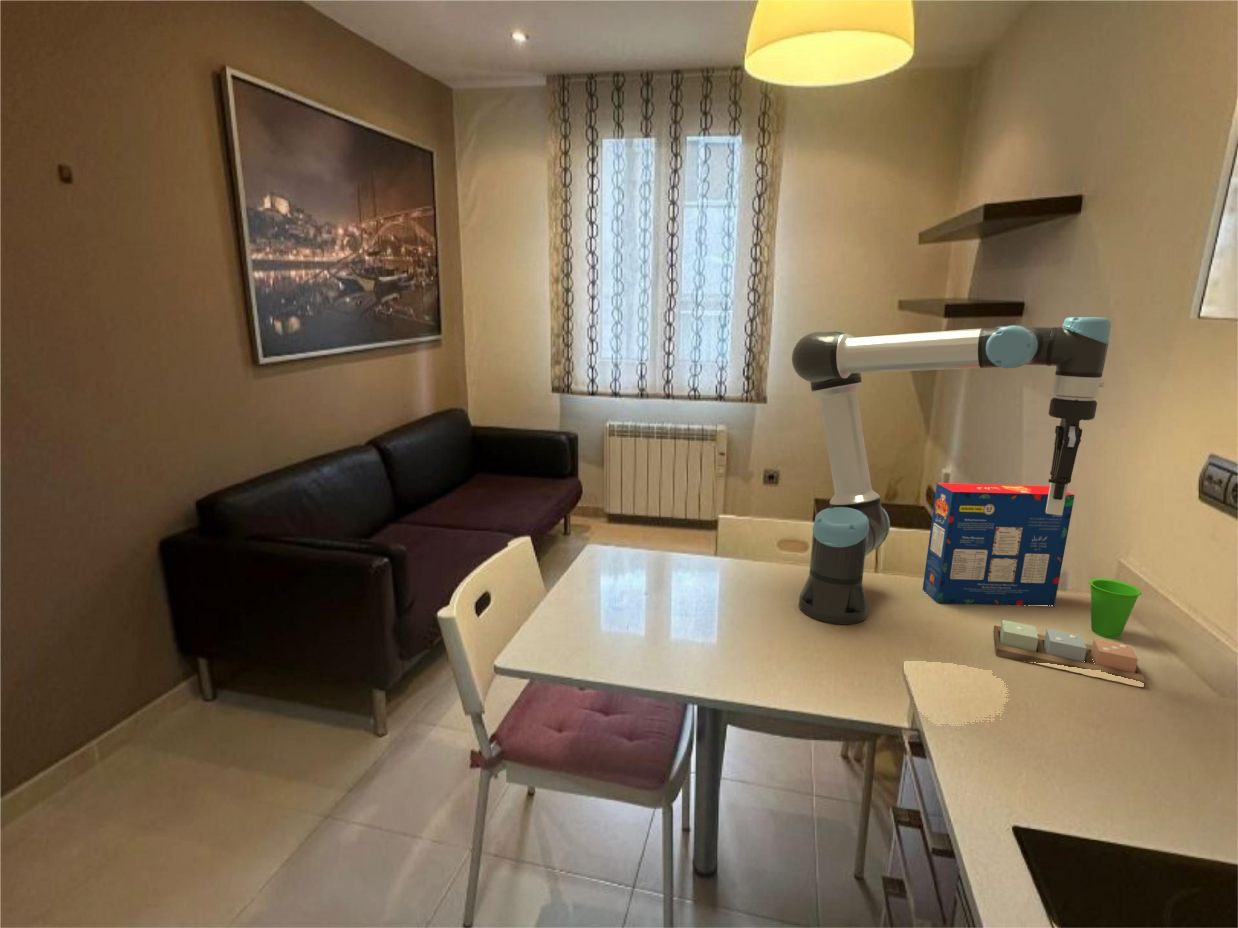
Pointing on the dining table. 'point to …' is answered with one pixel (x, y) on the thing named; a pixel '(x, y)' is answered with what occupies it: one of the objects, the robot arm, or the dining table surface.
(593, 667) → the dining table surface
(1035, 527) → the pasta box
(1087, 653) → the board
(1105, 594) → the cup
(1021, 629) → the pale green block
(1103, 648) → the peach block
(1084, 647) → the grey block
